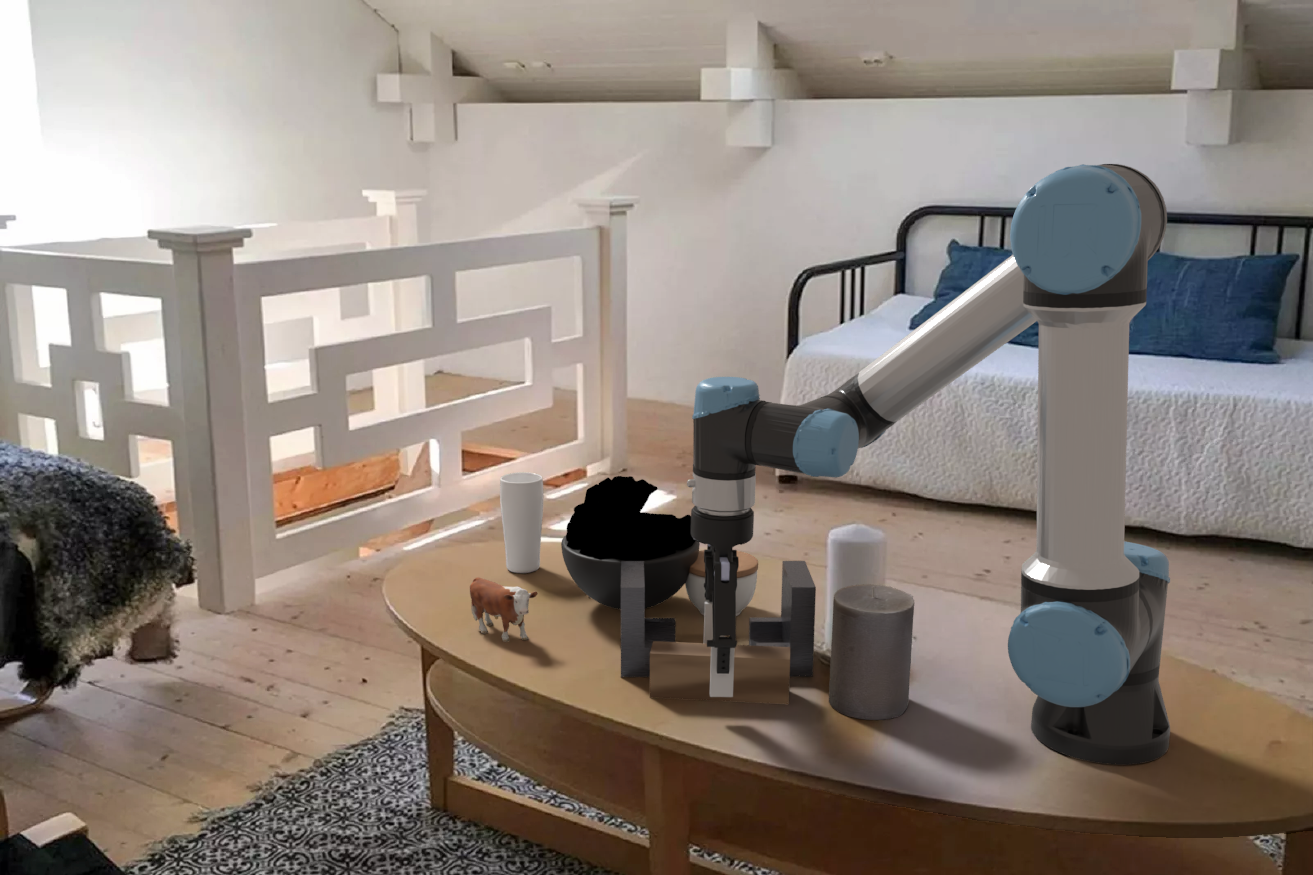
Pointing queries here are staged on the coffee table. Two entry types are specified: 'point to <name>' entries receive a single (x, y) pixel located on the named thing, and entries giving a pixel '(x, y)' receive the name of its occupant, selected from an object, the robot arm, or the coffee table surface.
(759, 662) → the rail
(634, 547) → the dark grey bowl
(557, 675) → the coffee table surface
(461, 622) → the coffee table surface
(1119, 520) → the robot arm
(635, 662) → the grey stand
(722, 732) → the coffee table surface
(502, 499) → the drinking glass
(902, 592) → the pillar candle
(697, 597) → the lidded jar
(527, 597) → the bull figurine
